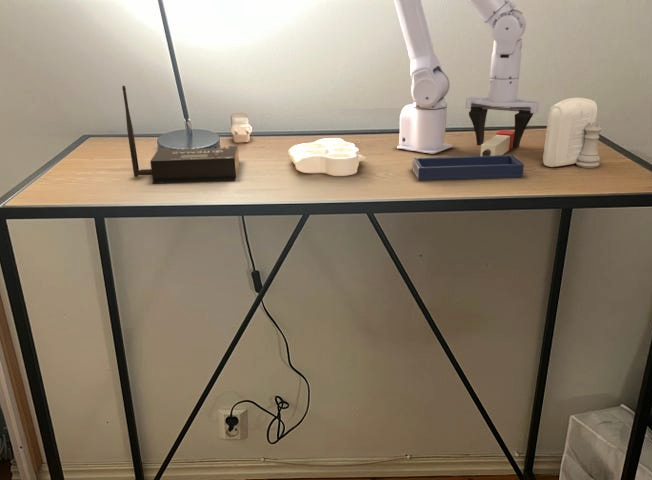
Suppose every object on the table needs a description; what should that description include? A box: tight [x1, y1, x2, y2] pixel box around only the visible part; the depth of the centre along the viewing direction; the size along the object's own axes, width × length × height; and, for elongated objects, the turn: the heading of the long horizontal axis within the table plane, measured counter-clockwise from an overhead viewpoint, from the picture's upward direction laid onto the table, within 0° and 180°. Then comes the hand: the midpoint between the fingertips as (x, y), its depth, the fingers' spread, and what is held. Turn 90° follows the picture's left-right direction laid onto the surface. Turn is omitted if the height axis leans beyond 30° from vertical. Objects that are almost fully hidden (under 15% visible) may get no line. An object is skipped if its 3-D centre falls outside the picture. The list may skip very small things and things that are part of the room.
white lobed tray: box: [288, 137, 367, 177], centre depth 145 cm, size 3×18×15 cm
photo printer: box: [542, 96, 598, 168], centre depth 140 cm, size 10×4×12 cm, turn 118°
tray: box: [412, 154, 525, 182], centre depth 137 cm, size 20×8×2 cm, turn 92°
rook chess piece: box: [575, 121, 603, 169], centre depth 139 cm, size 4×4×8 cm
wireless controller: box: [121, 85, 240, 185], centre depth 139 cm, size 20×14×17 cm
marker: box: [479, 129, 515, 156], centre depth 150 cm, size 15×3×3 cm, turn 150°
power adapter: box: [229, 112, 253, 144], centre depth 164 cm, size 11×5×6 cm, turn 9°
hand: (497, 146), depth 151 cm, fingers open, 7 cm apart
